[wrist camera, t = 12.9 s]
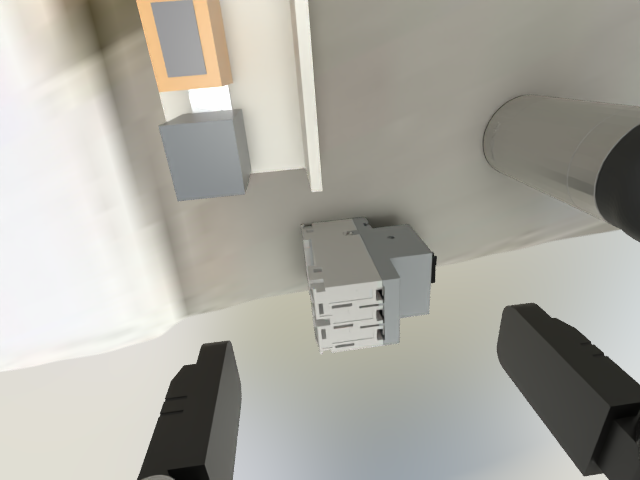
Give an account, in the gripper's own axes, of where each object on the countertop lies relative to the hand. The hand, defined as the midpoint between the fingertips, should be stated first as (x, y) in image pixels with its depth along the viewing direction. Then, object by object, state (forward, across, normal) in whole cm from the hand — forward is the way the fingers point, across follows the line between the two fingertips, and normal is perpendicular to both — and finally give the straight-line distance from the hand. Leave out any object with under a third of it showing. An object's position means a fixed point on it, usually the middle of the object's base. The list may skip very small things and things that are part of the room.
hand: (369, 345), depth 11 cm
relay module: (+32, +9, -10) cm, 35 cm away
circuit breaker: (+34, -6, +14) cm, 38 cm away
